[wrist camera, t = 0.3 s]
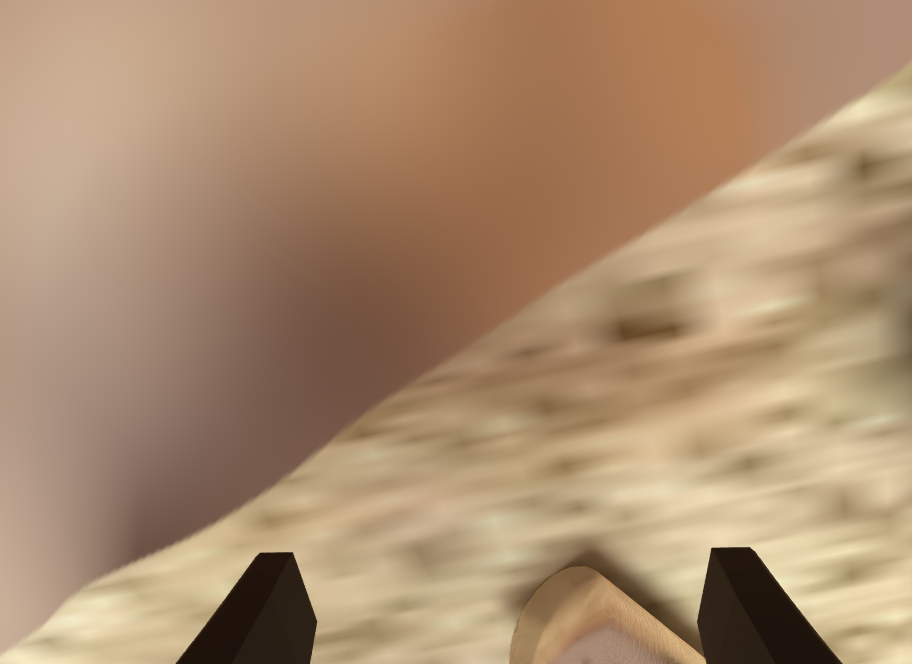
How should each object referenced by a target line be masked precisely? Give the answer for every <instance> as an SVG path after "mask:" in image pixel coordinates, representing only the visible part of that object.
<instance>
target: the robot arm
mask: <svg viewBox="0 0 912 664" xmlns="http://www.w3.org/2000/svg"><path fill="white" fill-rule="evenodd" d="M697 624H698V628H699V633H700V637H701V642H702V647H703V651H704V656H705V660H706V664H842V663H841V661H840V660H839V659H838V658H837V657H836V655H835V654H834V653H833V652H832V651H831V649H830V648H829V647H828V646H827V645H826V643H825V642H824V641H823V640H822V638H821V637H820V636H819V635H818V633H817V632H816V631H815V630H814V628H813V627H812V626H811V625H810V623H809V622H808V621H807V619H806V618H805V617H804V616H803V614H802V613H801V612H800V611H799V609H798V608H797V607H796V605H795V604H794V603H793V602H792V600H791V599H790V598H789V596H788V595H787V594H786V592H785V591H784V590H783V589H782V587H781V586H780V585H779V583H778V582H777V581H776V579H775V578H774V577H773V575H772V574H771V573H770V571H769V570H768V568H767V567H766V566H765V564H764V563H763V562H762V560H761V559H760V558H759V556H758V555H757V553H756V552H755V551H754V550H752V549H751V548H750V547H728V548H711V553H710V558H709V564H708V569H707V574H706V579H705V584H704V589H703V594H702V599H701V604H700V609H699V614H698V619H697ZM316 626H317V620H316V617H315V614H314V611H313V608H312V605H311V602H310V600H309V597H308V594H307V591H306V588H305V585H304V583H303V580H302V577H301V574H300V571H299V568H298V565H297V563H296V560H295V557H294V554H293V552H275V553H259V554H258V555H257V556H256V557H255V559H254V560H253V561H252V563H251V564H250V565H249V567H248V568H247V570H246V571H245V572H244V574H243V575H242V576H241V578H240V579H239V580H238V582H237V583H236V585H235V586H234V587H233V589H232V590H231V591H230V593H229V594H228V596H227V597H226V598H225V600H224V601H223V602H222V604H221V605H220V606H219V608H218V609H217V610H216V612H215V613H214V614H213V616H212V617H211V618H210V620H209V621H208V622H207V624H206V625H205V626H204V628H203V629H202V630H201V632H200V633H199V634H198V636H197V637H196V638H195V639H194V641H193V642H192V643H191V644H190V646H189V647H188V648H187V650H186V651H185V652H184V653H183V655H182V656H181V657H180V659H179V660H178V661H177V662H176V664H310V660H311V655H312V649H313V643H314V637H315V631H316Z"/></svg>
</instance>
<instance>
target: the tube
mask: <svg viewBox="0 0 912 664" xmlns="http://www.w3.org/2000/svg"><path fill="white" fill-rule="evenodd" d="M510 664H706V660H705V658H704V657H703V656H702V655H701V654H699V653H698V652H697V651H696V650H695V649H693V648H692V647H691V646H690V645H688V644H687V643H686V642H685V641H683V640H682V639H681V638H680V637H678V636H677V635H676V634H675V633H673V632H672V631H671V630H670V629H668V628H667V627H666V626H665V625H663V624H662V623H661V622H660V621H658V620H657V619H656V618H655V617H653V616H652V615H651V614H650V613H648V612H647V611H646V610H645V609H643V608H642V607H641V606H640V605H638V604H637V603H636V602H635V601H634V600H632V599H631V598H630V597H629V596H627V595H626V594H625V593H624V592H622V591H621V590H620V589H619V588H617V587H616V586H615V585H614V584H612V583H611V582H610V581H609V580H607V579H606V578H605V577H604V576H602V575H601V574H600V573H599V572H597V571H596V570H594V569H592V568H589V567H586V566H574V567H569V568H566V569H564V570H562V571H560V572H558V573H556V574H554V575H553V576H551V577H550V578H549V579H548V580H546V581H545V582H544V583H543V584H542V585H541V586H540V587H539V588H538V589H537V590H536V592H535V593H534V594H533V595H532V597H531V598H530V599H529V601H528V602H527V604H526V606H525V607H524V609H523V611H522V613H521V615H520V617H519V619H518V622H517V624H516V627H515V630H514V633H513V637H512V641H511V647H510Z"/></svg>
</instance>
